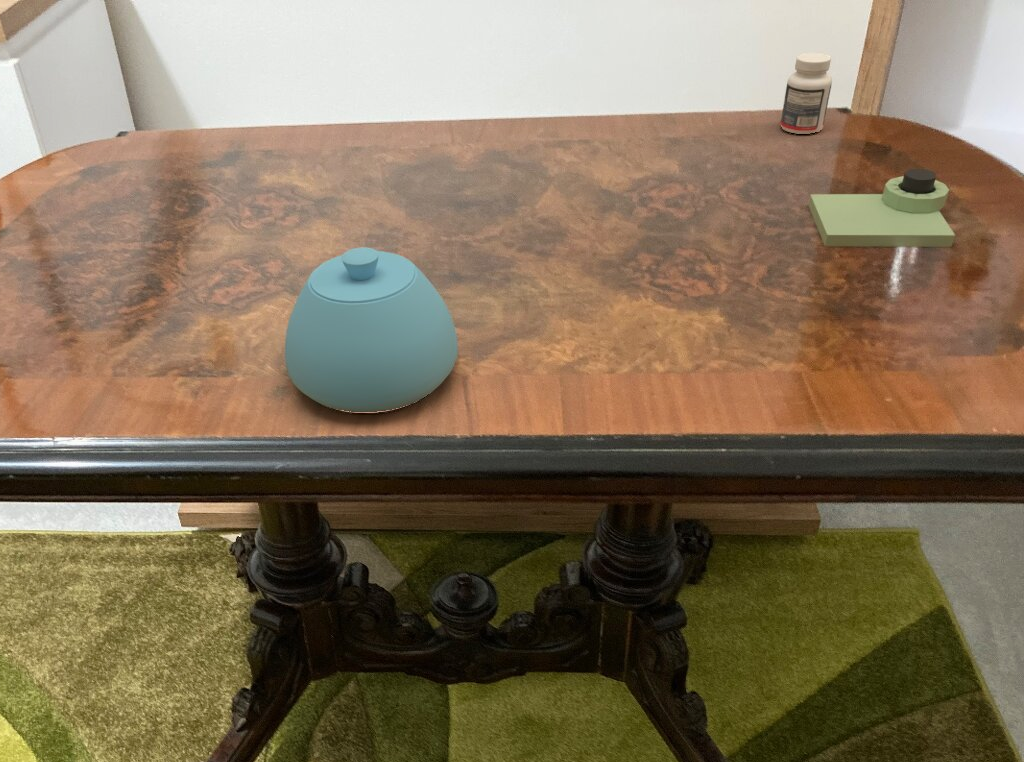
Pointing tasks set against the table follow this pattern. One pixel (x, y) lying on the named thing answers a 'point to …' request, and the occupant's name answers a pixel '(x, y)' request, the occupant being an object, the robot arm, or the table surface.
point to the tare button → (918, 181)
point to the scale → (883, 218)
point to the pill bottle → (807, 94)
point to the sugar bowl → (369, 333)
